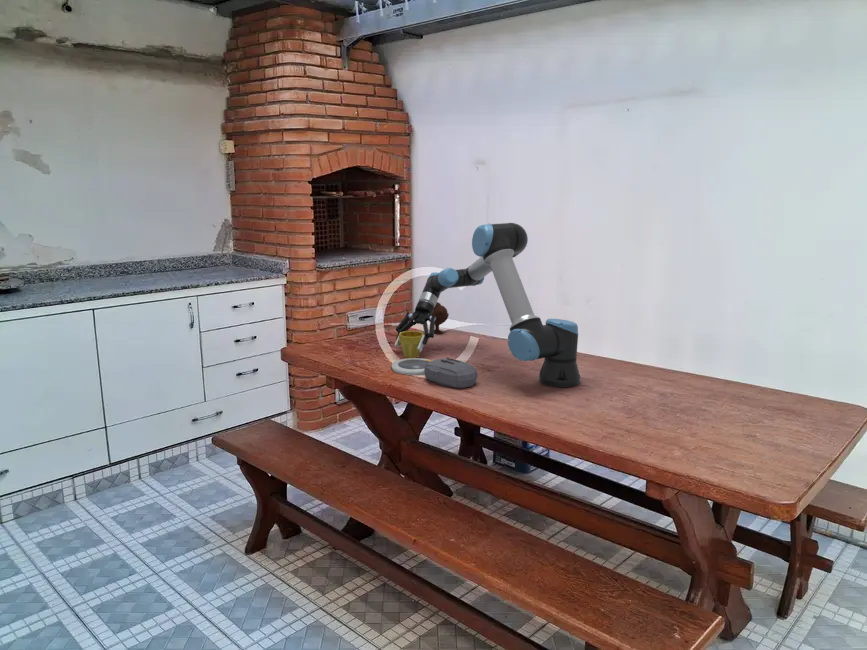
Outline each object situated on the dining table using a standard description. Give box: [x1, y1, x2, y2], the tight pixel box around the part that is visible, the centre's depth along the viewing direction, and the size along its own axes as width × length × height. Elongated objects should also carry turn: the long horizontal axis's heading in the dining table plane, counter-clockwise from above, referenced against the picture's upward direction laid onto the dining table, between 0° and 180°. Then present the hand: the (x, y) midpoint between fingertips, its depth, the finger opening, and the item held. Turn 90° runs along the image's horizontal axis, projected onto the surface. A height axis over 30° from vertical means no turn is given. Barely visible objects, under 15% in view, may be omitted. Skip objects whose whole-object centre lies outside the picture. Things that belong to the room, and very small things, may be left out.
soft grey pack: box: [423, 357, 478, 389], centre depth 241 cm, size 15×8×20 cm
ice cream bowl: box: [427, 301, 450, 335], centre depth 313 cm, size 11×11×15 cm
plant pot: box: [399, 330, 425, 359], centre depth 274 cm, size 10×10×10 cm
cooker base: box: [391, 357, 433, 376], centre depth 258 cm, size 18×18×2 cm
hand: (407, 348), depth 272 cm, fingers closed on plant pot, 10 cm apart
